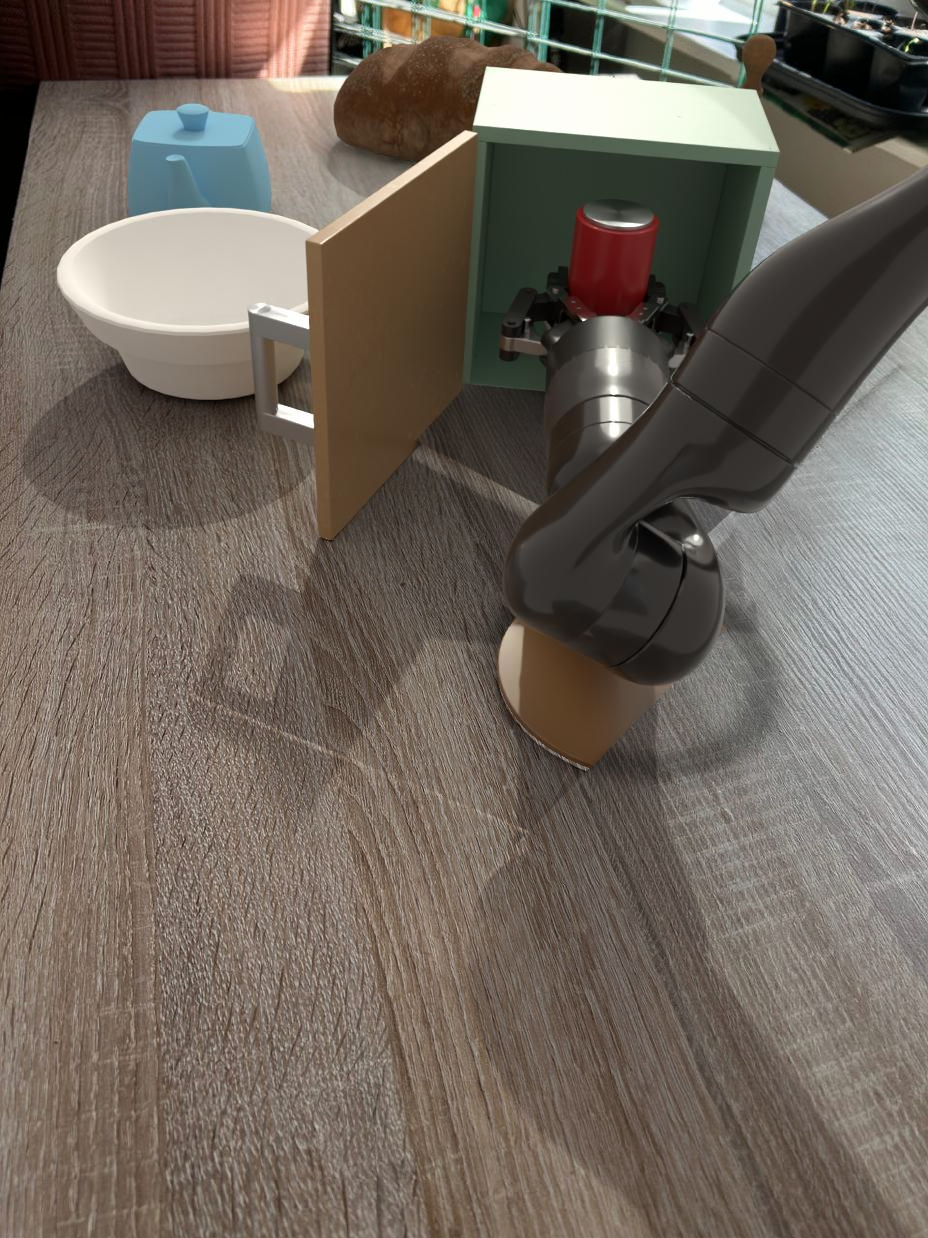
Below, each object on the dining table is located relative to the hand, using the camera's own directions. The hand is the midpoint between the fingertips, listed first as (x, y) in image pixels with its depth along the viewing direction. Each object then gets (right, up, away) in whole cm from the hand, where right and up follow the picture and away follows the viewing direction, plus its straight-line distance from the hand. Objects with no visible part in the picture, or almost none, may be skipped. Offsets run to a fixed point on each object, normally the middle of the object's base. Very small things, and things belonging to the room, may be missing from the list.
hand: (604, 283), depth 75 cm
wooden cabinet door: (-17, -12, +1) cm, 21 cm away
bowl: (-30, -3, +9) cm, 31 cm away
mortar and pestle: (+16, +16, +35) cm, 42 cm away
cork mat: (-1, -27, -14) cm, 30 cm away
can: (-1, -7, +3) cm, 8 cm away
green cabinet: (0, -3, +12) cm, 13 cm away
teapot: (-34, +12, +26) cm, 44 cm away
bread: (-10, +30, +47) cm, 56 cm away
